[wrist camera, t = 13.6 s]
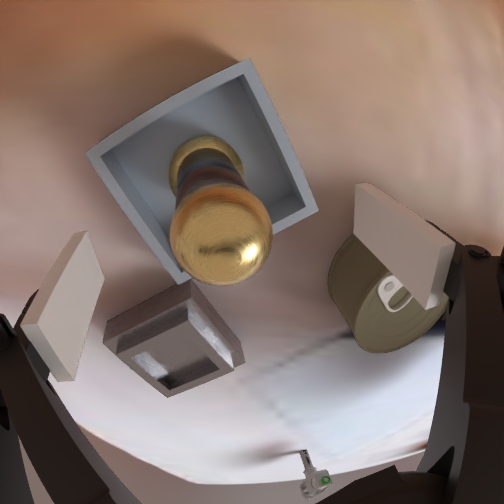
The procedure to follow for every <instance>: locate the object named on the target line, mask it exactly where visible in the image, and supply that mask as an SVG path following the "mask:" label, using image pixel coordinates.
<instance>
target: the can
mask: <svg viewBox="0 0 504 504" xmlns="http://www.w3.org/2000/svg"><path fill="white" fill-rule="evenodd" d="M328 289H329V293H330V296H331V298H332V299H333V301H334V302H335V304H336V305H337V307H338V309H339V310H340V312H341V314H342V315H343V317H344V318H345V320H346V322H347V323H348V325H349V327H350V328H351V330H352V332H353V335H354V338H355V340H356V342H357V343H358V345H359V346H360V347H361V348H362V349H364V350H366V351H368V352H371V353H387V352H391V351H395V350H398V349H400V348H402V347H405V346H407V345H408V344H410V343H412V342H414V341H415V340H417V339H418V338H419V337H421V336H422V335H423V334H424V333H426V332H427V331H428V330H429V329H430V328H431V327H432V326H433V325H434V324H435V323H436V322H437V320H438V319H439V318H440V317H441V315H442V314H443V312H444V311H445V309H446V306H447V303H448V299H449V297H448V296H447V295H446V294H445V293H444V292H443V295H442V299H441V302H440V305H438V306H435V307H432V308H430V309H427V310H425V309H424V308H423V307H422V306H421V305H420V303H419V302H418V301H417V300H416V299H415V298H414V297H413V296H412V294H411V293H410V292H409V291H408V290H407V289H406V288H405V287H404V286H403V285H402V283H401V282H400V281H399V280H398V279H397V278H396V277H395V276H394V275H393V274H392V273H391V272H390V271H389V270H388V268H387V267H386V266H385V265H384V264H383V263H382V262H381V261H380V260H379V259H378V258H377V257H376V256H375V255H374V254H373V253H372V252H371V251H370V250H369V249H368V248H367V247H366V246H365V245H364V244H363V243H362V242H361V241H360V240H359V239H358V238H357V237H356V236H355V235H354V234H353V235H352V236H350V237H349V238H348V239H347V240H346V242H345V243H344V244H343V245H342V246H341V248H340V249H339V251H338V252H337V254H336V255H335V257H334V259H333V261H332V264H331V267H330V270H329V274H328Z"/></svg>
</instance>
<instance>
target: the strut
mask: <svg viewBox="0 0 504 504" xmlns="http://www.w3.org/2000/svg"><path fill="white" fill-rule="evenodd" d="M243 178H244V169H243V165H242V162H241V159H240V157H239V156H238V154H237V153H236V151H235V150H234V149H233V148H232V146H231V145H230V144H229V143H227V142H226V141H225V140H223V139H221V138H219V137H216V136H213V135H198V136H194V137H192V138H190V139H188V140H186V141H185V142H183V143H182V144H181V145H180V146H179V147H178V148H177V149H176V151H175V152H174V154H173V156H172V158H171V162H170V167H169V176H168V179H169V185H170V188H171V190H172V193H173V194H174V196H175V197H176V204H175V213H174V215H173V217H172V221H171V225H170V244H171V248H172V251H173V254H174V256H175V258H176V260H177V262H178V263H179V265H180V266H181V267H182V269H183V270H184V271H185V272H186V273H188V274H189V275H190V276H191V277H193V278H195V279H196V280H198V281H200V282H202V283H205V284H209V285H214V286H228V285H233V284H237V283H240V282H242V281H244V280H246V279H248V278H249V277H251V276H252V275H253V274H255V273H256V272H257V271H258V270H259V269H260V268H261V266H262V265H263V264H264V262H265V261H266V259H267V257H268V255H269V252H270V249H271V246H272V239H273V230H272V223H271V219H270V216H269V214H268V212H267V210H266V208H265V206H264V205H263V203H262V202H261V201H260V200H259V199H258V198H257V197H256V196H255V195H254V194H253V193H252V192H250V190H249V189H248V187H247V185H246V184H245V182H244V181H243Z"/></svg>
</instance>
